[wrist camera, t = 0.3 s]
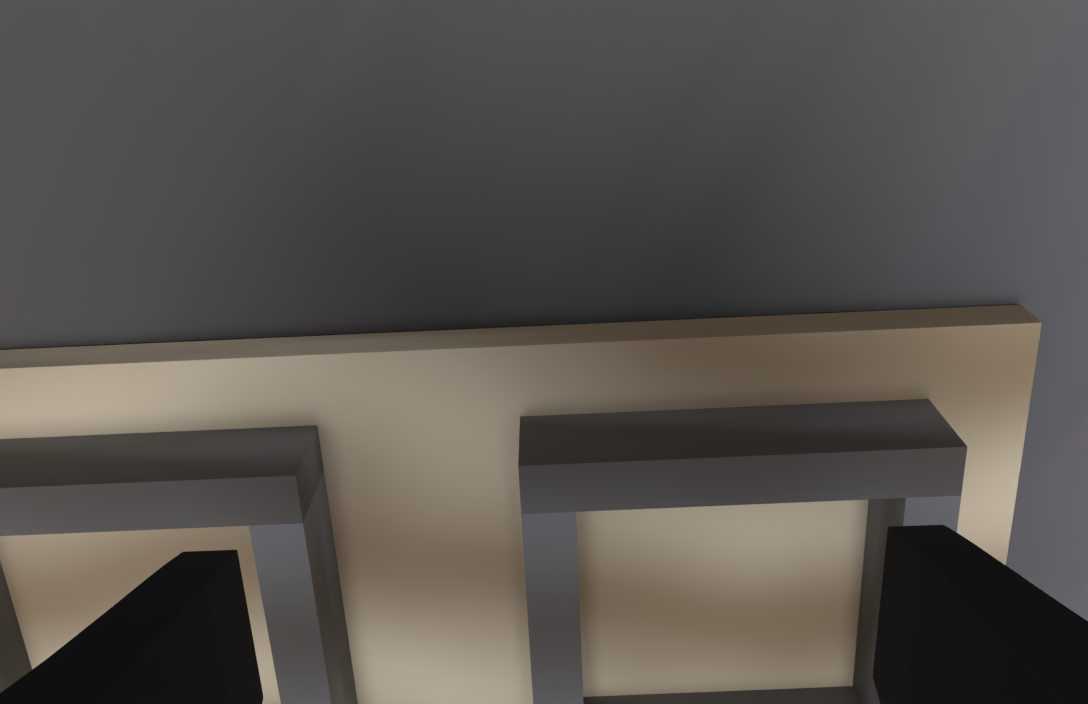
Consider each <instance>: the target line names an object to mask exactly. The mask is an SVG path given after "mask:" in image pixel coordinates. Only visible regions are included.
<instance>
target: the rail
mask: <svg viewBox="0 0 1088 704" xmlns="http://www.w3.org/2000/svg"><path fill="white" fill-rule="evenodd" d="M1041 326H1042V322H1040V321H1039V320H1038V319H1037V318H1035V317H1034V316H1033V315H1032V314H1031V313H1029V312H1028V311H1027V310H1026V309H1024V308H1023V307H1022V306H1021V305H998V306H976V307H953V308H931V309H908V310H886V311H863V312H841V313H819V314H796V315H774V316H751V317H729V318H706V319H684V320H662V321H639V322H617V323H594V324H572V325H549V326H527V327H504V328H482V329H460V330H437V331H415V332H392V333H370V334H347V335H325V336H303V337H280V338H258V339H235V340H213V341H190V342H168V343H145V344H123V345H101V346H78V347H56V348H33V349H11V350H0V693H1V692H2V691H4V690H5V689H6V688H8V687H9V686H11V685H12V684H13V683H15V682H16V681H17V680H19V679H20V678H22V677H23V676H24V675H26V674H27V673H28V672H30V671H31V670H32V669H34V668H35V667H37V666H38V665H39V664H41V663H42V662H43V661H45V660H46V659H47V658H49V657H50V656H51V655H52V654H54V653H55V652H56V651H57V650H59V649H60V648H61V647H62V646H64V645H65V644H66V643H67V642H69V641H70V640H71V639H73V638H74V637H75V636H76V635H78V634H79V633H80V632H81V631H83V630H84V629H85V628H86V627H88V626H89V625H90V624H91V623H93V622H94V621H95V620H96V619H98V618H99V617H100V616H101V615H103V614H104V613H105V612H106V611H108V610H109V609H110V608H111V607H113V606H114V605H115V604H116V603H117V602H119V601H120V600H121V599H122V598H124V597H125V596H126V595H127V594H129V593H130V592H131V591H132V590H133V589H135V588H136V587H137V586H138V585H140V584H141V583H142V582H143V581H145V580H146V579H147V578H148V577H150V576H151V575H152V574H153V573H155V572H156V571H157V570H159V569H160V568H161V567H162V566H164V565H165V564H166V563H168V562H169V561H170V560H172V559H173V558H175V557H176V556H177V555H179V554H180V553H182V552H187V551H215V550H237V551H238V557H239V562H240V568H241V574H242V579H243V585H244V591H245V596H246V602H247V607H248V613H249V619H250V624H251V630H252V635H253V641H254V647H255V652H256V658H257V664H258V669H259V675H260V680H261V686H262V692H263V702H262V704H880V700H879V697H878V694H877V690H876V687H875V684H874V680H873V677H872V676H873V666H874V656H875V647H876V637H877V627H878V618H879V608H880V598H881V588H882V579H883V569H884V559H885V550H886V540H887V530H888V527H891V526H920V525H945V526H947V527H948V528H950V529H952V530H953V531H955V532H957V533H958V534H960V535H961V536H963V537H964V538H966V539H968V540H969V541H971V542H972V543H974V544H975V545H977V546H978V547H979V548H981V549H982V550H984V551H985V552H987V553H988V554H990V555H991V556H993V557H994V558H996V559H997V560H998V561H1000V562H1001V563H1003V564H1004V565H1006V560H1007V553H1008V546H1009V540H1010V533H1011V526H1012V520H1013V513H1014V506H1015V500H1016V493H1017V486H1018V480H1019V473H1020V466H1021V459H1022V453H1023V446H1024V439H1025V433H1026V426H1027V419H1028V413H1029V406H1030V399H1031V392H1032V386H1033V379H1034V372H1035V366H1036V359H1037V352H1038V346H1039V339H1040V332H1041Z"/></svg>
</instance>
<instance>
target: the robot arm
mask: <svg viewBox="0 0 1088 704" xmlns="http://www.w3.org/2000/svg"><path fill="white" fill-rule="evenodd" d="M872 677H873V680H874V684H875V687H876V690H877V694H878V697H879V700H880V704H1088V621H1086V620H1085V619H1083V618H1082V617H1080V616H1079V615H1077V614H1076V613H1074V612H1073V611H1071V610H1070V609H1068V608H1067V607H1065V606H1064V605H1062V604H1061V603H1059V602H1058V601H1056V600H1055V599H1054V598H1052V597H1051V596H1049V595H1048V594H1046V593H1045V592H1043V591H1042V590H1040V589H1039V588H1037V587H1036V586H1035V585H1033V584H1032V583H1030V582H1029V581H1027V580H1026V579H1024V578H1023V577H1022V576H1020V575H1019V574H1017V573H1016V572H1014V571H1013V570H1011V569H1010V568H1009V567H1007V566H1006V565H1004V564H1003V563H1001V562H1000V561H998V560H997V559H996V558H994V557H993V556H991V555H990V554H988V553H987V552H985V551H984V550H982V549H981V548H979V547H978V546H977V545H975V544H974V543H972V542H971V541H969V540H968V539H966V538H964V537H963V536H961V535H960V534H958V533H957V532H955V531H953V530H952V529H950V528H948V527H947V526H945V525H920V526H891V527H888V530H887V540H886V550H885V559H884V569H883V579H882V588H881V598H880V608H879V618H878V627H877V637H876V647H875V656H874V666H873V676H872ZM262 702H263V692H262V686H261V680H260V675H259V669H258V664H257V658H256V652H255V647H254V641H253V635H252V630H251V624H250V619H249V613H248V607H247V602H246V596H245V591H244V585H243V579H242V574H241V568H240V562H239V557H238V551H237V550H215V551H187V552H182V553H180V554H179V555H177V556H176V557H175V558H173V559H172V560H170V561H169V562H168V563H166V564H165V565H164V566H162V567H161V568H160V569H159V570H157V571H156V572H155V573H153V574H152V575H151V576H150V577H148V578H147V579H146V580H145V581H143V582H142V583H141V584H140V585H138V586H137V587H136V588H135V589H133V590H132V591H131V592H130V593H129V594H127V595H126V596H125V597H124V598H122V599H121V600H120V601H119V602H117V603H116V604H115V605H114V606H113V607H111V608H110V609H109V610H108V611H106V612H105V613H104V614H103V615H101V616H100V617H99V618H98V619H96V620H95V621H94V622H93V623H91V624H90V625H89V626H88V627H86V628H85V629H84V630H83V631H81V632H80V633H79V634H78V635H76V636H75V637H74V638H73V639H71V640H70V641H69V642H67V643H66V644H65V645H64V646H62V647H61V648H60V649H59V650H57V651H56V652H55V653H54V654H52V655H51V656H50V657H49V658H47V659H46V660H45V661H43V662H42V663H41V664H39V665H38V666H37V667H35V668H34V669H32V670H31V671H30V672H28V673H27V674H26V675H24V676H23V677H22V678H20V679H19V680H17V681H16V682H15V683H13V684H12V685H11V686H9V687H8V688H6V689H5V690H4V691H2V692H1V693H0V704H262Z"/></svg>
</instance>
